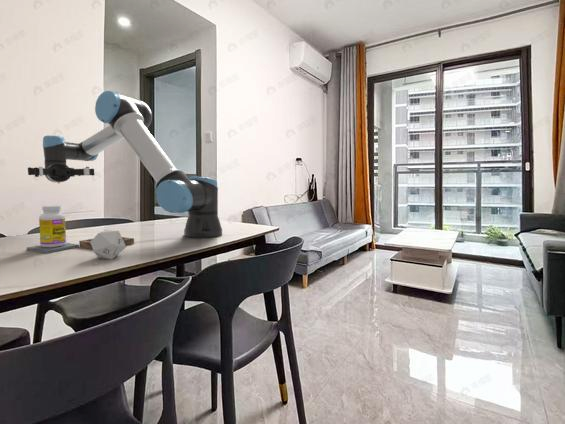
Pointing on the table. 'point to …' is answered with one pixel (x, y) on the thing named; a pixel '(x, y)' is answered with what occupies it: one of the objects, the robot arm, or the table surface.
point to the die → (107, 244)
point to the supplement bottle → (52, 227)
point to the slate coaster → (53, 249)
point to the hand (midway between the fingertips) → (65, 170)
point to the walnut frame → (88, 245)
